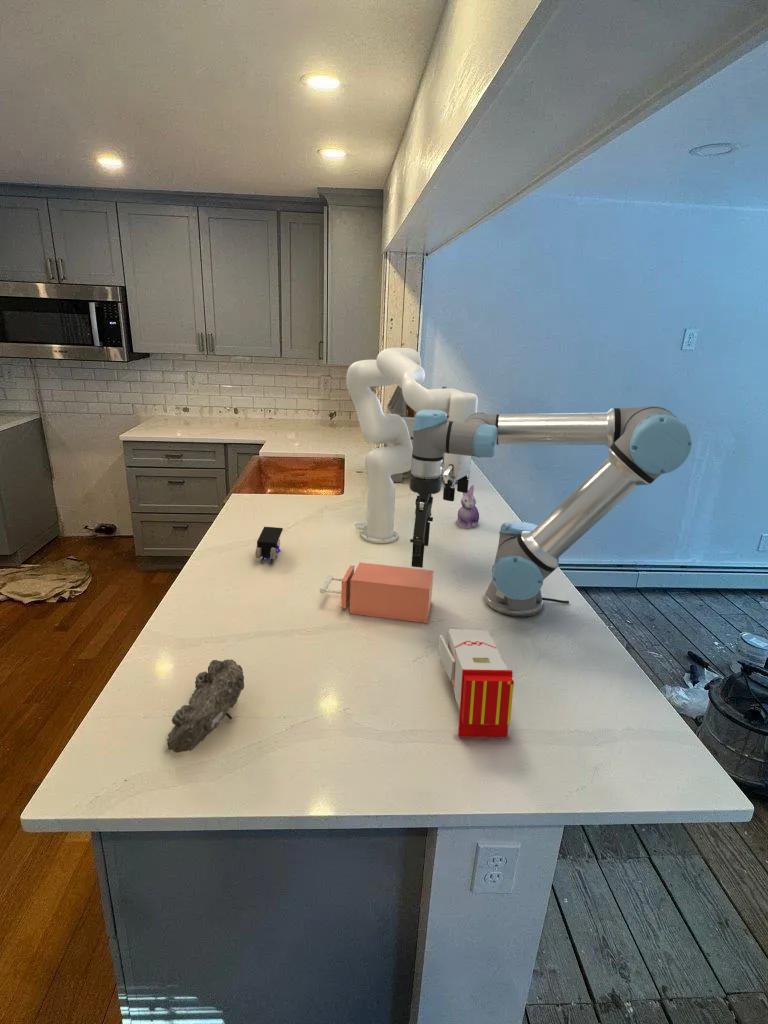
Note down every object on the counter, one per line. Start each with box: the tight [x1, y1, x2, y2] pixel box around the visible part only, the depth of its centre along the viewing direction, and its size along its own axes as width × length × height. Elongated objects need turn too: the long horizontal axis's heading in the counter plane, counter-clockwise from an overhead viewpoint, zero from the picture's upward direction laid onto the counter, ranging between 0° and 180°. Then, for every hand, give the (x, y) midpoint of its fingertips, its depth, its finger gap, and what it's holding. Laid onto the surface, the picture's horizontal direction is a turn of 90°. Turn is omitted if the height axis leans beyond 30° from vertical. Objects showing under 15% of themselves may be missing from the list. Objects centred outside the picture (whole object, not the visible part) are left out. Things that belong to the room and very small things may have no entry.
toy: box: [437, 628, 515, 738], centre depth 117 cm, size 12×13×30 cm
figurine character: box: [254, 526, 284, 564], centre depth 176 cm, size 7×8×15 cm
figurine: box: [456, 484, 480, 529], centre depth 209 cm, size 9×10×15 cm
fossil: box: [166, 658, 245, 754], centre depth 106 cm, size 22×10×15 cm
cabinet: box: [349, 561, 434, 624], centre depth 149 cm, size 20×11×10 cm, turn 80°
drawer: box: [319, 565, 355, 609], centre depth 149 cm, size 25×10×8 cm, turn 80°
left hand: (455, 496), depth 164 cm, fingers open, 9 cm apart
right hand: (420, 555), depth 144 cm, fingers open, 13 cm apart
